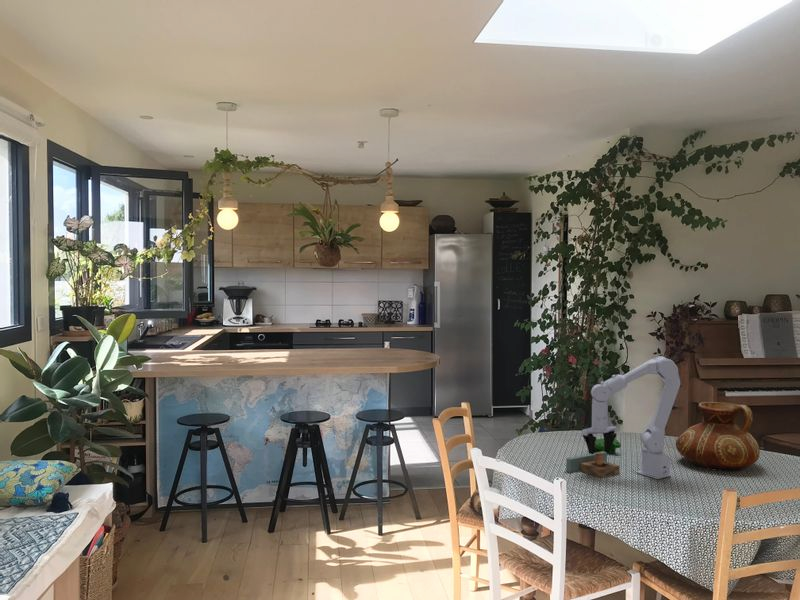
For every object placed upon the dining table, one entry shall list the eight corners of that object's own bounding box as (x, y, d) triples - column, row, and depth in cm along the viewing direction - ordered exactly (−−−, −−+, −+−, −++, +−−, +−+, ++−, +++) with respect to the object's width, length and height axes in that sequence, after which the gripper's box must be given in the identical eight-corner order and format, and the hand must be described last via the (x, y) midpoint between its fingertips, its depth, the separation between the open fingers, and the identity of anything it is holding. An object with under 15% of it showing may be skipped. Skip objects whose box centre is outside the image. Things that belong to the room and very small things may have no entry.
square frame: (619, 473, 246) (619, 465, 246) (600, 477, 241) (600, 469, 240) (598, 467, 254) (598, 459, 254) (580, 470, 249) (580, 463, 249)
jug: (671, 468, 253) (672, 404, 253) (678, 450, 280) (679, 392, 279) (760, 479, 239) (761, 411, 239) (758, 460, 266) (760, 398, 265)
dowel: (604, 472, 247) (605, 454, 247) (598, 473, 246) (598, 455, 245) (599, 470, 250) (599, 452, 249) (593, 471, 248) (593, 453, 248)
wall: (606, 465, 257) (606, 452, 257) (570, 472, 247) (570, 459, 246) (602, 463, 259) (602, 451, 259) (566, 471, 248) (566, 458, 248)
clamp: (599, 465, 272) (594, 448, 269) (591, 458, 278) (587, 441, 275) (624, 453, 274) (620, 436, 271) (616, 446, 280) (612, 429, 276)
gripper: (591, 420, 241) (590, 457, 241) (622, 417, 246) (622, 453, 247) (578, 416, 247) (578, 452, 247) (609, 413, 253) (609, 448, 253)
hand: (599, 452), depth 247 cm, fingers open, 7 cm apart
